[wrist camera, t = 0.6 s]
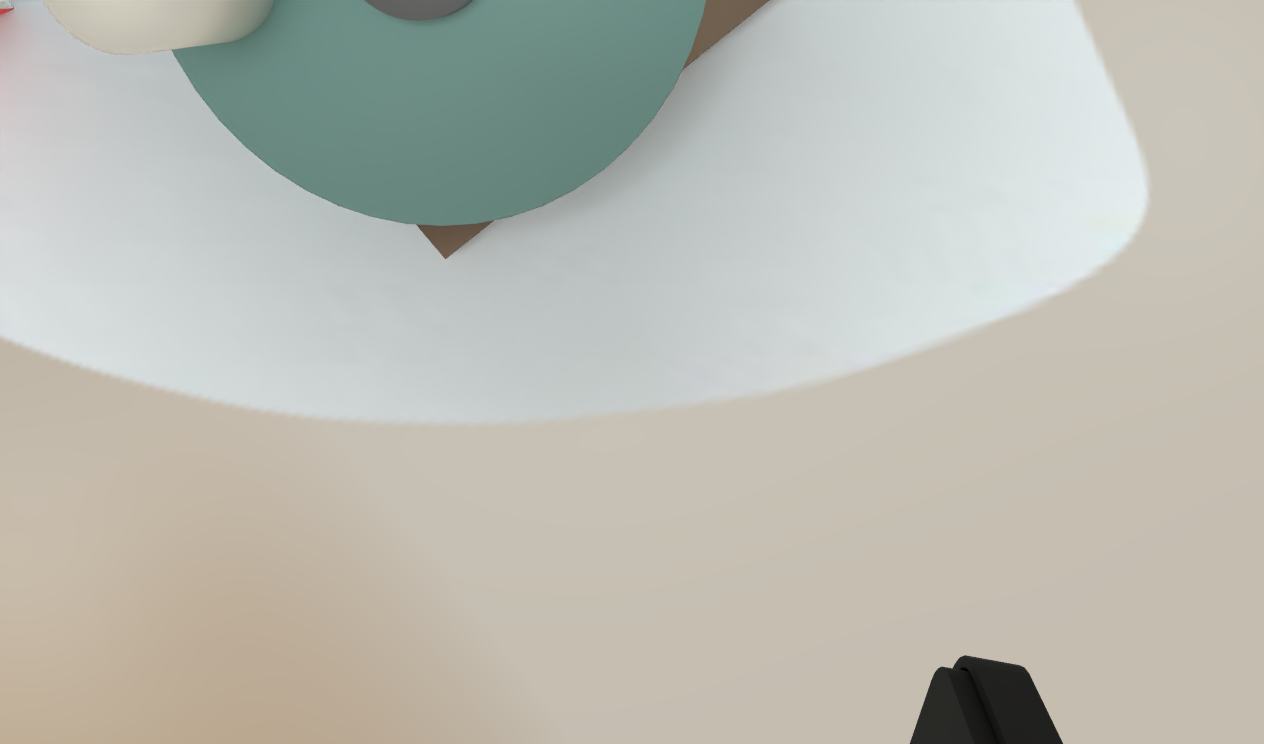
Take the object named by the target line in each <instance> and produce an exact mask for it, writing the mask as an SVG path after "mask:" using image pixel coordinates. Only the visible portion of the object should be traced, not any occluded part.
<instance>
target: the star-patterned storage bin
mask: <svg viewBox="0 0 1264 744" xmlns="http://www.w3.org/2000/svg"><path fill="white" fill-rule="evenodd" d="M10 10H13V6H12V5H11V3H10V2H9V0H0V15H1V14H3V13H5V12H7V11H10Z"/></svg>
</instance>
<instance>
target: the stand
mask: <svg viewBox="0 0 1264 744" xmlns="http://www.w3.org/2000/svg"><path fill="white" fill-rule="evenodd" d="M767 1H769V0H706V2H705V7H704V12H703V16H702V19H701V22H700V25H699V28H698V31H697V34H696V37H695V40H694V43H693V46H692V49H691V52H690V54H689V56H688V58H687V60H686V62H685V64H684V66H683V69H684V68H685V67H686V66H688V65H689V64H690V63H691V62H693V61H694V60H695V59H696V58H698V57H699V56H700V55H701V54H703V53H704V52H705V51H706V50H708V49H709V48H710V47H711V46H712V45H714V44H715V43H716V42H717V41H719V40H720V39H721V38H722V37H724V36H725V35H726V34H727V33H729V32H730V31H731V30H732V29H734V28H735V27H736V26H737V25H739V24H740V23H741V22H742V21H744V20H745V19H746V18H747V17H749V16H750V15H751V14H752V13H754V12H755V11H756V10H757V9H759V8H760V7H761V6H762V5H764V4H765V3H766V2H767ZM683 69H682V70H683ZM493 221H494V220H492V221H487V222H482V223H477V224H464V225H448V226H435V225H420V224H416V225H417V226H418V227H419V228H420V230H421V231H422V232H423V233H424V234H425V236H426V237H427V238H428V239H429V240H430V241H431V243H432V244H433V245H434V246H435V247H436V248H437V250H438V251H439V252H440V253H441V254H442V256H443V257H444V258H445V259H446V258H448V257H449V256H450V255H451V254H453V253H454V252H455V251H456V250H458V249H459V248H460V247H461V246H463V245H464V244H465V243H466V242H468V241H469V240H470V239H471V238H473V237H474V236H475V235H476V234H478V233H479V232H480V231H481V230H483V229H484V228H485V227H486V226H488V225H489V224H490V223H491V222H493Z"/></svg>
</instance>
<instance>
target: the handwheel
mask: <svg viewBox="0 0 1264 744" xmlns="http://www.w3.org/2000/svg"><path fill="white" fill-rule="evenodd" d="M43 1H44V3H45V5H46V6H47V8H48V9H49V11H50V13H51V14H52V15H53V16H54V18H55V19H56V20H57V21H58V23H59V24H60V25H61V26H62V27H63V28H64V29H65V30H66V31H68V32H69V33H70V34H71V35H73V36H74V37H75V38H77V39H78V40H80V41H81V42H83V43H84V44H86V45H88V46H91V47H93V48H95V49H97V50H100V51H103V52H107V53H112V54H121V55H130V54H140V53H148V52H156V51H164V50H171V49H172V51H173V53H174V55H175V57H176V59H177V60H178V62H179V64H180V65H181V67H182V68H183V70H184V72H185V73H186V75H187V77H188V78H189V80H190V81H191V83H192V85H193V86H194V88H195V90H196V91H197V92H198V93H199V95H200V96H201V97H202V99H203V100H204V101H205V102H206V104H207V105H208V106H209V107H210V109H211V110H212V111H213V113H214V114H215V115H216V116H217V118H218V119H219V120H220V121H221V122H222V123H223V124H224V125H225V126H226V127H227V128H228V129H229V130H230V131H231V132H232V133H233V135H234V136H235V137H236V138H237V139H238V140H239V141H240V142H241V143H242V144H243V145H244V146H245V147H246V148H248V149H249V150H250V151H251V152H253V153H254V154H255V155H256V156H257V157H259V158H260V159H261V160H262V161H264V162H265V163H266V164H267V165H269V166H270V167H271V168H272V169H274V170H275V171H276V172H278V173H279V174H281V175H283V176H284V177H286V178H287V179H289V180H291V181H292V182H294V183H295V184H297V185H299V186H300V187H302V188H303V189H305V190H307V191H309V192H311V193H313V194H315V195H317V196H319V197H321V198H324V199H326V200H328V201H330V202H332V203H334V204H336V205H338V206H341V207H344V208H347V209H350V210H353V211H356V212H359V213H362V214H365V215H368V216H371V217H376V218H381V219H386V220H391V221H396V222H401V223H406V224H420V225H435V226H448V225H464V224H477V223H482V222H487V221H492V220H497V219H502V218H507V217H511V216H514V215H517V214H520V213H523V212H526V211H529V210H531V209H534V208H537V207H540V206H543V205H545V204H547V203H549V202H551V201H553V200H555V199H557V198H559V197H561V196H563V195H565V194H567V193H569V192H571V191H573V190H575V189H576V188H577V187H579V186H580V185H582V184H583V183H585V182H586V181H588V180H589V179H591V178H592V177H593V176H595V175H596V174H598V173H599V172H601V171H602V170H604V169H605V168H606V167H607V166H608V165H609V164H610V163H611V162H612V161H614V160H615V159H616V158H617V157H618V156H619V155H620V154H621V153H622V152H623V151H625V150H626V149H627V148H628V147H629V146H630V145H631V144H632V143H633V141H634V140H635V139H636V138H637V137H638V136H639V134H640V133H641V132H642V131H643V130H644V129H645V127H646V126H647V125H648V124H649V123H650V121H651V120H652V119H653V118H654V116H655V115H656V113H657V112H658V110H659V109H660V107H661V106H662V104H663V103H664V101H665V99H666V98H667V96H668V95H669V93H670V92H671V90H672V89H673V87H674V85H675V83H676V81H677V79H678V77H679V75H680V73H681V71H682V69H683V66H684V64H685V62H686V60H687V58H688V56H689V54H690V52H691V49H692V46H693V43H694V40H695V37H696V34H697V31H698V28H699V25H700V22H701V19H702V16H703V12H704V7H705V2H706V0H43Z"/></svg>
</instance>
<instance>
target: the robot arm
mask: <svg viewBox="0 0 1264 744" xmlns="http://www.w3.org/2000/svg"><path fill="white" fill-rule="evenodd" d="M910 744H1063V743H1062V741H1061V738H1060V737H1059V734H1058V732H1057V730H1056V728H1055V726H1054V724H1053V722H1052V720H1051V718H1050V716H1049V714H1048V712H1047V709H1046V708H1045V705H1044V703H1043V701H1042V699H1041V697H1040V695H1039V693H1038V691H1037V689H1036V687H1035V685H1034V683H1033V681H1032V679H1031V676H1030V674H1029V673H1028V672H1027V670H1026V669H1025V668H1024V667H1022V666H1020V665H1015V664H1009V663H1004V662H998V661H993V660H988V659H982V658H976V657H971V656H966V655H965V656H962V657H960V658H959V659H958V660H957V662H956V663H955V665H954V667H953V669H951V668H946V667H940V668H938V670H937V671H936V672H935V673H934V676H933V678H932V680H931V683H930V686H929V689H928V692H927V695H926V698H925V701H924V704H923V707H922V710H921V713H920V715H919V718H918V721H917V724H916V727H915V730H914V733H913V736H912V739H911V742H910Z"/></svg>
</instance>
